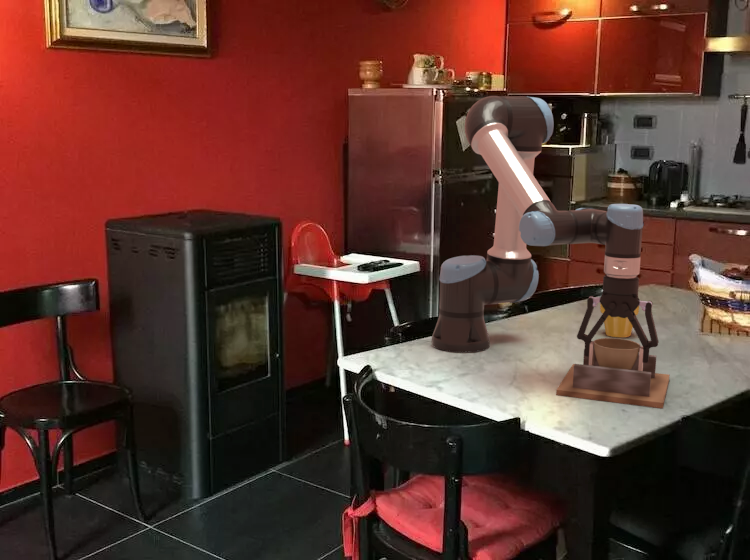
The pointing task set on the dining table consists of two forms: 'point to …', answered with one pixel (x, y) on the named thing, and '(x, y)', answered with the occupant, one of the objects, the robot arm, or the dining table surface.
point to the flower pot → (616, 352)
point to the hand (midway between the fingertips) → (615, 373)
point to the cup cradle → (616, 383)
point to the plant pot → (618, 325)
